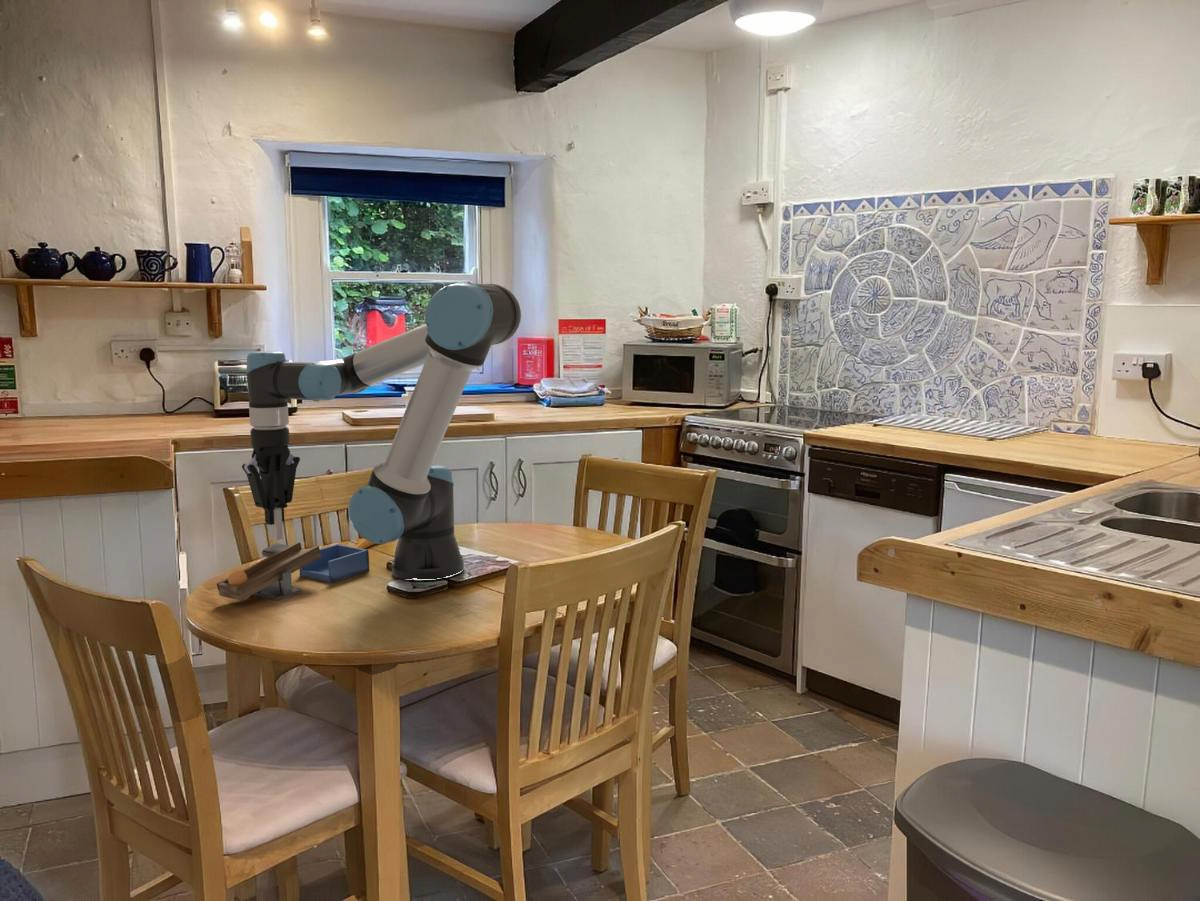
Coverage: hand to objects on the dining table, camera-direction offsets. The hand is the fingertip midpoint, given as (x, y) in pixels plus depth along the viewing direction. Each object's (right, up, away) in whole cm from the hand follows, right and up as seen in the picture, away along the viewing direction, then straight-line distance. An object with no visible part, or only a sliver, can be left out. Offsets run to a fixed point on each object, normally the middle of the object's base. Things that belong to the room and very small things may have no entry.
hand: (275, 538), depth 198 cm
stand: (+3, -10, -10) cm, 14 cm away
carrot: (+13, -4, +27) cm, 30 cm away
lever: (0, -6, -8) cm, 10 cm away
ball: (-1, -6, -17) cm, 18 cm away
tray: (+11, -8, +4) cm, 14 cm away
